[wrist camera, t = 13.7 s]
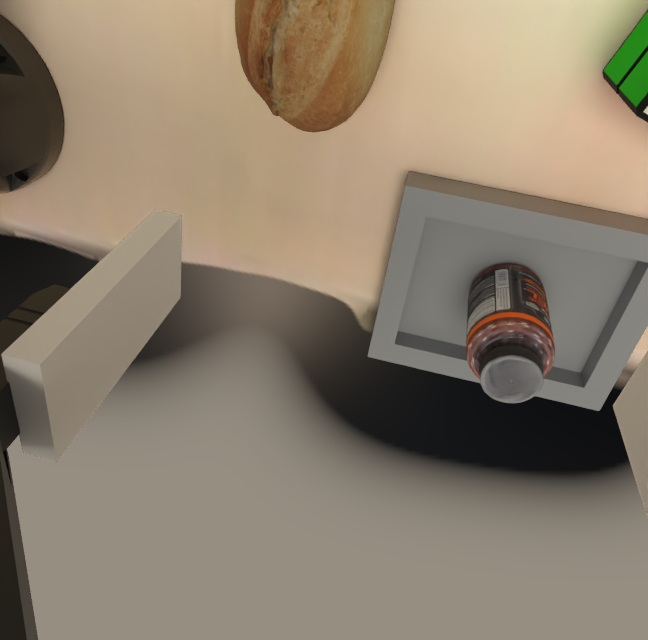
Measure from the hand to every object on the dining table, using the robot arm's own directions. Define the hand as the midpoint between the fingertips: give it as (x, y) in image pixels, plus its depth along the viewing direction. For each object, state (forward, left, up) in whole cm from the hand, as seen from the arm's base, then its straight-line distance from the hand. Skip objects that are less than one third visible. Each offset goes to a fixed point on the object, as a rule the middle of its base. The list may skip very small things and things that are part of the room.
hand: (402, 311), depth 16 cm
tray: (+9, -15, -30) cm, 34 cm away
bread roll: (-9, +3, -30) cm, 31 cm away
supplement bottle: (+9, -15, -29) cm, 33 cm away
